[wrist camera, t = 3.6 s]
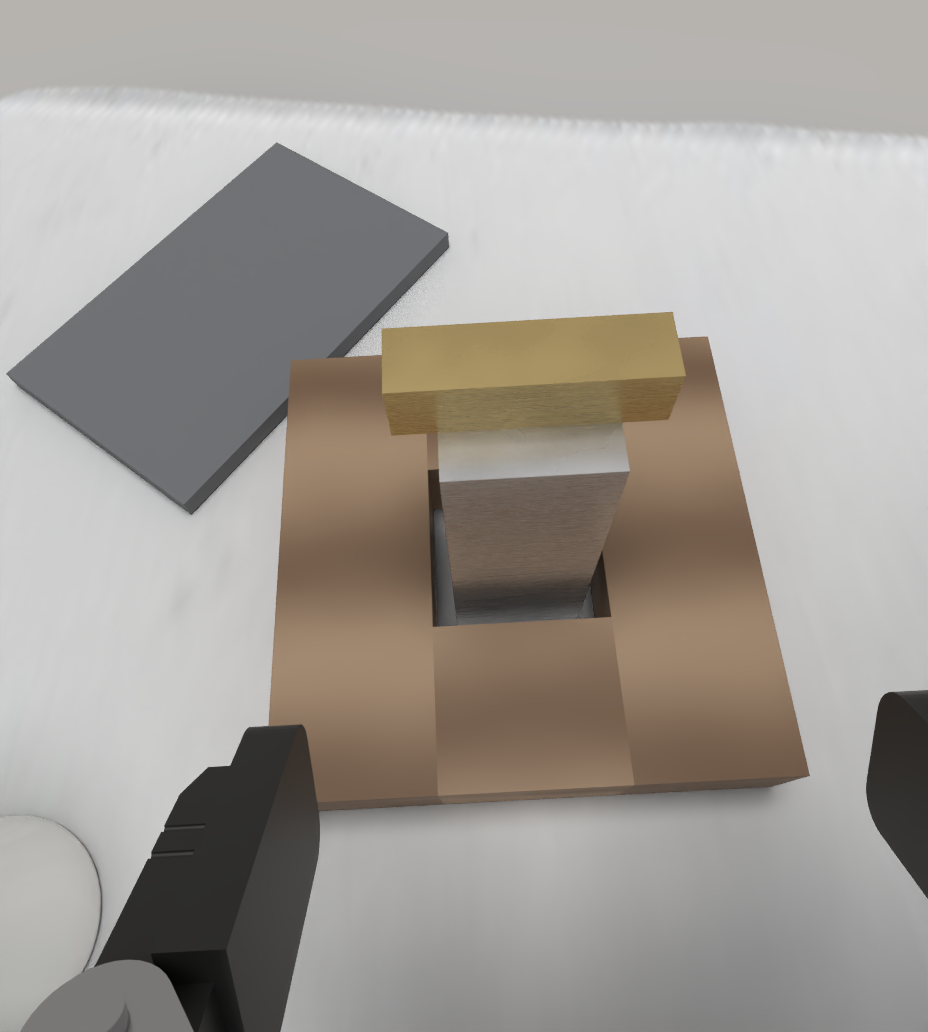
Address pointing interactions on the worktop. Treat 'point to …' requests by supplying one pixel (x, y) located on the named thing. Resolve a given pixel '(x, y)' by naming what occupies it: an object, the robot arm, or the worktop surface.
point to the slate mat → (228, 321)
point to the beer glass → (42, 913)
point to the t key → (529, 445)
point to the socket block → (521, 645)
